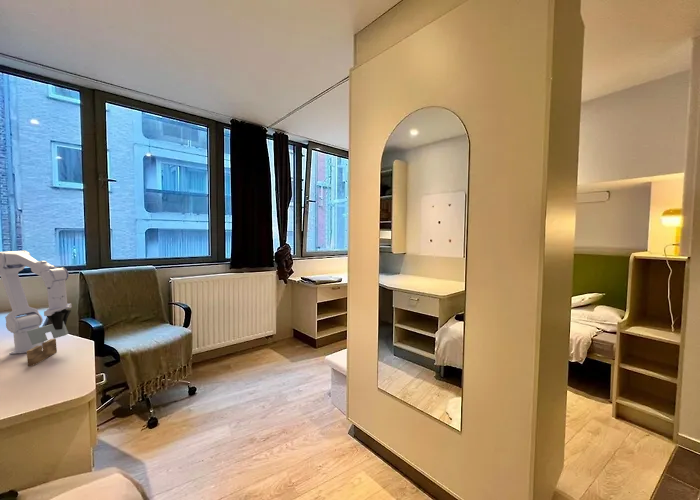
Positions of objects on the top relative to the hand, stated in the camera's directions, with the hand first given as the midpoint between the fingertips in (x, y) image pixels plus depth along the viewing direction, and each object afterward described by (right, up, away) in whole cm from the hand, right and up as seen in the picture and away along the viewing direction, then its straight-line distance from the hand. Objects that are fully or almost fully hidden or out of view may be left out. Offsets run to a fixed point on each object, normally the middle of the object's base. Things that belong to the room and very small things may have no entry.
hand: (60, 328), depth 128 cm
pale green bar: (-3, -4, -1) cm, 5 cm away
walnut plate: (-2, -11, -5) cm, 12 cm away
